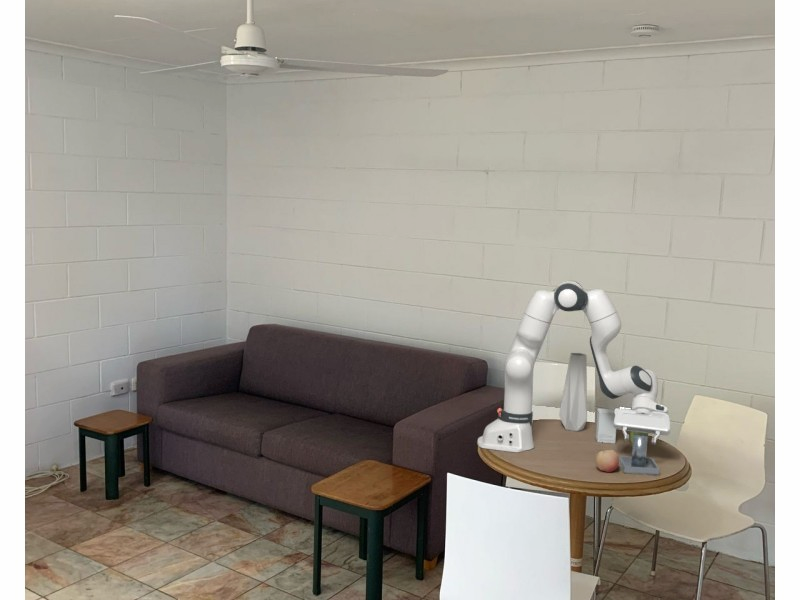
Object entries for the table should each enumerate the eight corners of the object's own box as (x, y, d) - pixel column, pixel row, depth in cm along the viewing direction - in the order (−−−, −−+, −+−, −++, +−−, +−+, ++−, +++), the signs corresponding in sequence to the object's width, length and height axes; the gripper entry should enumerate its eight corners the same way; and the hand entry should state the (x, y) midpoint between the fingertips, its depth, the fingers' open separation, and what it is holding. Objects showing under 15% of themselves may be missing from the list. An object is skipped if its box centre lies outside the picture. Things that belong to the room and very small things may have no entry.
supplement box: (615, 443, 308) (617, 413, 307) (597, 442, 309) (598, 412, 308) (613, 438, 315) (615, 409, 314) (595, 437, 317) (597, 407, 315)
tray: (624, 473, 273) (624, 466, 272) (618, 462, 285) (619, 455, 284) (659, 475, 271) (659, 468, 271) (652, 464, 283) (652, 458, 283)
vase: (577, 434, 319) (582, 358, 315) (555, 428, 328) (559, 353, 324) (594, 429, 327) (598, 355, 324) (571, 423, 336) (575, 350, 332)
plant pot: (651, 447, 304) (653, 426, 303) (627, 445, 306) (628, 424, 305) (648, 440, 314) (650, 420, 312) (625, 438, 315) (626, 418, 314)
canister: (632, 468, 276) (634, 437, 274) (630, 464, 281) (632, 433, 279) (646, 469, 275) (649, 438, 274) (643, 465, 280) (646, 434, 279)
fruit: (604, 466, 280) (606, 445, 279) (622, 472, 274) (624, 450, 273) (590, 469, 276) (591, 448, 275) (608, 476, 269) (609, 454, 268)
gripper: (614, 401, 287) (610, 433, 279) (672, 408, 280) (669, 440, 272) (615, 410, 292) (611, 441, 284) (671, 417, 285) (668, 449, 277)
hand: (640, 441), depth 278 cm, fingers open, 8 cm apart
